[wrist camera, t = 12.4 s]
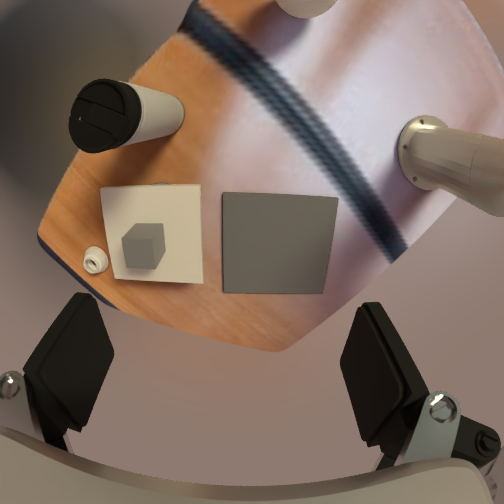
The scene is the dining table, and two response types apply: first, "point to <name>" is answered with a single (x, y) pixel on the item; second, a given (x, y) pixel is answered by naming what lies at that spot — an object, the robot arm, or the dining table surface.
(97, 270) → the lidless jar
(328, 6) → the white pear-shaped vessel
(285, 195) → the mat
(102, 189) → the square lid
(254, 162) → the dining table surface
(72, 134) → the travel mug
